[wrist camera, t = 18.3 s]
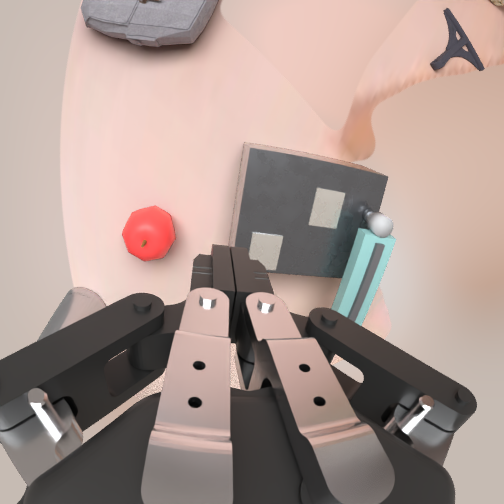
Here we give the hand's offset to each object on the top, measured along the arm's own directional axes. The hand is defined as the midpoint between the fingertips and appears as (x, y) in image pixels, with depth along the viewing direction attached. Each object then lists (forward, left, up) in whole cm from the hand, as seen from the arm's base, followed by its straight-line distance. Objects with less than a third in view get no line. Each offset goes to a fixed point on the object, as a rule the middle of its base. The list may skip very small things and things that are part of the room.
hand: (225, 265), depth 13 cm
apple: (-11, +9, -31) cm, 34 cm away
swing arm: (-11, -20, -20) cm, 31 cm away
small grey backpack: (+24, +14, -31) cm, 42 cm away
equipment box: (-5, -12, -31) cm, 34 cm away
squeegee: (+31, -37, -32) cm, 58 cm away
